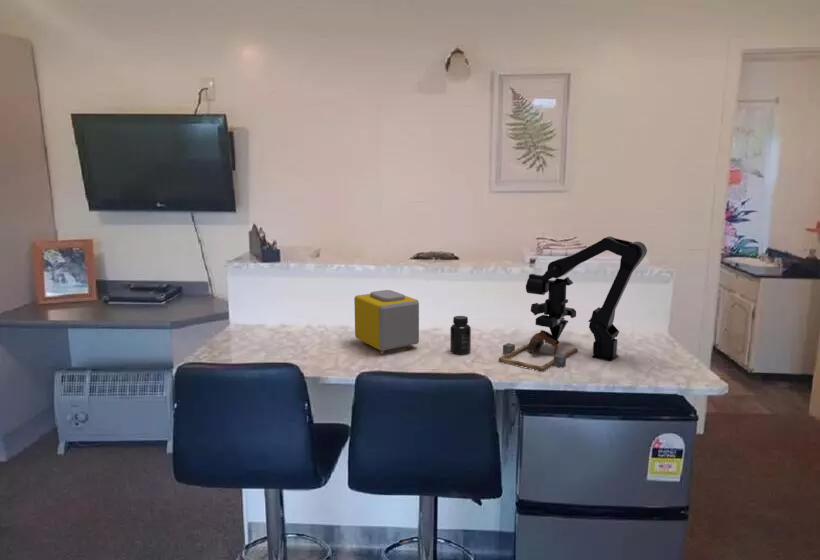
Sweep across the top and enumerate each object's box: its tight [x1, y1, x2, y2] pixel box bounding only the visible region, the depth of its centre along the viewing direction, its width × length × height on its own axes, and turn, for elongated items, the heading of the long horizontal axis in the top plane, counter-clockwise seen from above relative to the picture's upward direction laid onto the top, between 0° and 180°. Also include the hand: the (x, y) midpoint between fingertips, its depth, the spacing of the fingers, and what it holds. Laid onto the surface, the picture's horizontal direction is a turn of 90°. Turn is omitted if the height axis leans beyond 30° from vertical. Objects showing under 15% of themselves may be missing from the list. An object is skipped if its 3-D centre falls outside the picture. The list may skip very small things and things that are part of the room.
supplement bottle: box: [449, 315, 472, 356], centre depth 200 cm, size 7×7×12 cm
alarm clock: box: [353, 289, 420, 354], centre depth 207 cm, size 20×16×18 cm
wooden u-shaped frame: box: [498, 342, 578, 372], centre depth 196 cm, size 21×25×3 cm
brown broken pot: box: [526, 329, 560, 355], centre depth 199 cm, size 12×10×8 cm
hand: (555, 341), depth 205 cm, fingers closed
